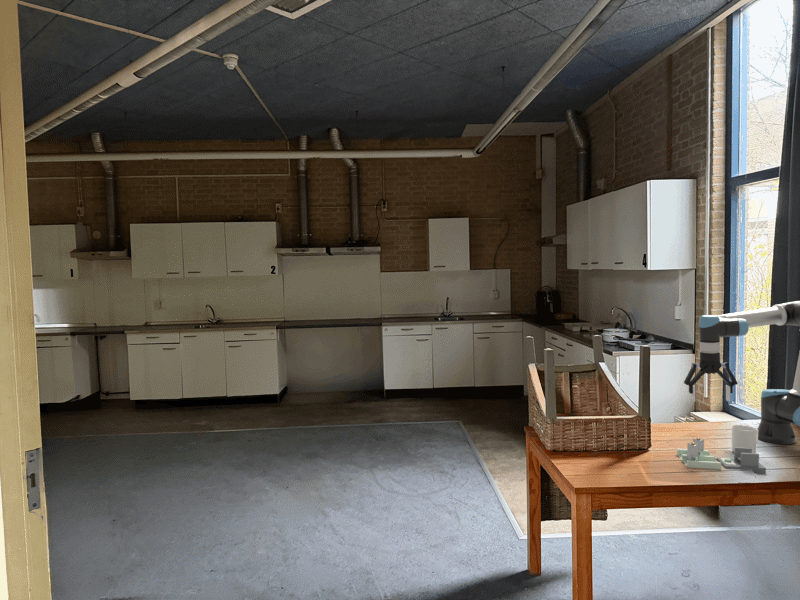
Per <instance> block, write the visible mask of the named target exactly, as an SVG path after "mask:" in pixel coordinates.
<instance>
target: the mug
mask: <svg viewBox="0 0 800 600" xmlns="http://www.w3.org/2000/svg"><path fill="white" fill-rule="evenodd" d="M757 429H758V428H756V427H753V426H750V425H745V424H733V425H732V426H731V451H732V452H733V453H734V447H742V448H752V453H757V444H758V442H759V439H758V431H759V430H757Z"/></svg>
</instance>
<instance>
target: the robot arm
mask: <svg viewBox="0 0 800 600" xmlns="http://www.w3.org/2000/svg"><path fill="white" fill-rule="evenodd" d="M771 325H776V326H797V327H800V300H795V301H789V302H784V303H779V304H777V303H776V304H773V305H772V306H771V307H766V308H759V309H752V310H746V311H738V312H731V313H725V314H718V315H715V314H714V315H713V314H708V315H707V314H705V315H704V314H703V315H700V317H699V320H698V329H699V331H698V332H699V351H700V352H699V363H695V362H691V367H690V370H689V371H688V374H687V375H686V377H685V379H684V381H683V384H684V385H686V386H688V394H691V395H690V396H691V397H690V398H691V401H692V402H694V403H695V402H696V386H695V384H697V382H698V381H699V380H700V378H702V377H703V376H704V375H705V374H707V375H709V374H711V375H713V374H714V375H715V374H717V375H718V376H719V377H720V378H721V379H722V380H723V381H724V382H725V383H726V384H725V401H727V402H728V403H729V402H731V394H733V392H734V389H733V387H734V386H735V385H738V384H739V383H738V381H737V379H736V378H735V375H734V374H733V373H732V370H731V369H730V364H729V363H728V362H725V361H724V362H722V363H721V338H726V337H727V338H731V337H741V336H746V335H747V334H748V332H749V330H750V328H757V327H763V326H771ZM798 330H799V332H800V328H799V329H798ZM721 367H722V368H723V369H724V371H725V372H726V374H727V376H728V377H727V376H726V375H725V374H724V373H723V372H722V371H721V370H720V369H721ZM698 368H700V369H699V370H698V372H697V373H696V371H697V369H698ZM695 373H696V374H695ZM794 374H795V375H794V379H793V386H792V389H782V388H781V389H779V388H777V389H776V388H775V389H774V388H771V389H770V388H769V389H767V388H766V389H763V390H761V396H760V422H759V423H758V424H759V425H758V426H757V428H756V429H757V430H759V431H758V440H760V441H762V442H766V443H767V442H768V443H771V444H777V445H778V444H779V445H792V444H793V445H794V444H795V443H797V436H796V435H797V434H796V433H795V431H794V427H793V424H794V425H796V426H798V427H800V351H799V353H798V358H797V364H796V369H795V373H794Z"/></svg>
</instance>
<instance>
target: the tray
mask: <svg viewBox="0 0 800 600" xmlns="http://www.w3.org/2000/svg"><path fill="white" fill-rule="evenodd" d="M676 455H677V456H678V458H679V459H680V460H681V461H682V462H683V464H684V465H685V466H686V467H687V468H691V469H692V468H693V469H707V470H708V469H710V470H722V464H721V462H719V461H716V456H714V455H710V451H709V450H708V449H704V455H699V461H692V460H687V448H677V449H676Z"/></svg>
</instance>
